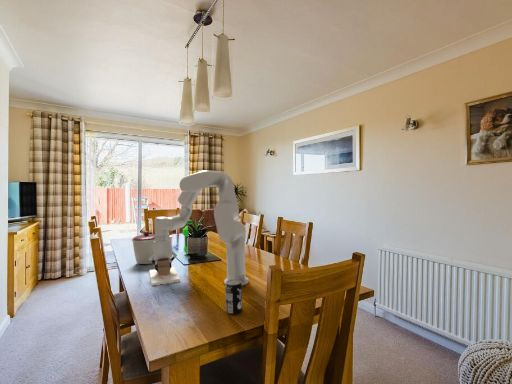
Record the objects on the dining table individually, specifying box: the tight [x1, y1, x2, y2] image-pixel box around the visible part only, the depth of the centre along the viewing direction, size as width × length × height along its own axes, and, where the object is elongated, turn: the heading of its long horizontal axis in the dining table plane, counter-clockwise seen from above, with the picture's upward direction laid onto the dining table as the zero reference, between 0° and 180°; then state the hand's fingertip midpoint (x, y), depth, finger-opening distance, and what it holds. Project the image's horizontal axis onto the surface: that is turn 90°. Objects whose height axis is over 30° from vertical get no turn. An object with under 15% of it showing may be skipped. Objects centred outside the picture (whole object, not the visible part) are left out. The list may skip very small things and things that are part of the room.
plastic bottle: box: [182, 219, 194, 255], centre depth 200 cm, size 10×10×25 cm
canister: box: [131, 230, 155, 265], centre depth 181 cm, size 18×18×21 cm
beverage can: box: [224, 279, 243, 316], centre depth 108 cm, size 7×7×12 cm
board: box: [148, 266, 181, 287], centre depth 152 cm, size 24×14×2 cm, turn 24°
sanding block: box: [157, 258, 170, 275], centre depth 154 cm, size 10×6×7 cm, turn 24°
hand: (163, 269), depth 155 cm, fingers closed on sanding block, 5 cm apart
